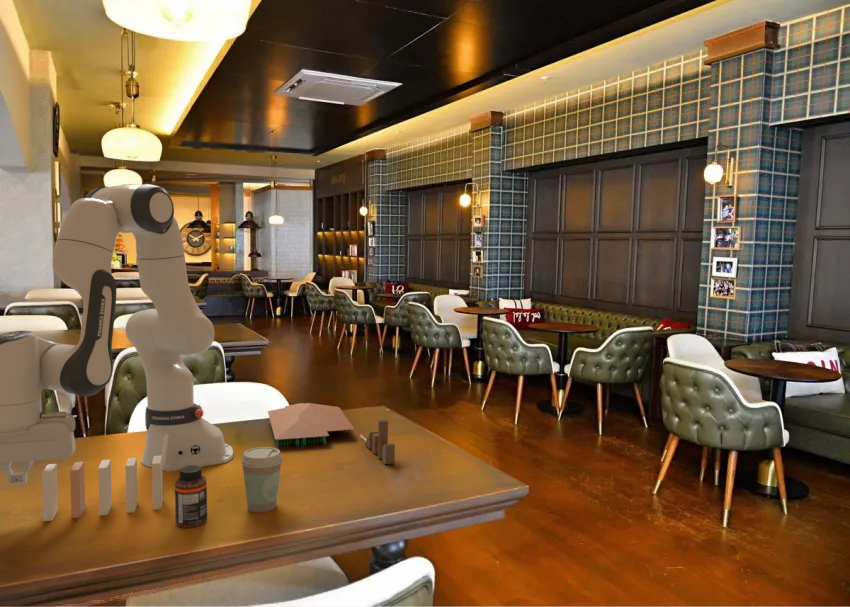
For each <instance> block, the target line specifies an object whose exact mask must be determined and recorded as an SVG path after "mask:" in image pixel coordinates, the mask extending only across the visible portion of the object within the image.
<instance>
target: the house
mask: <svg viewBox="0 0 850 607" xmlns="http://www.w3.org/2000/svg"><path fill="white" fill-rule="evenodd" d="M267 415H268V418H269V421H270V425H271V429H272V433H273V436H274V440H275V444H276V447H277V449H278V450H280V449H282V445H283V444H284V445H283V446H284V449H285V445H287V449H289V448H288V447H289V446H288V444H289V443H290V442H292V440H295V444H296V446H297V448H300V439H302V448H306V447H307V443H310V442H311V446H310V447H312V445H314V447H315V444H316V443H315V442H317V447H318V442H319V440H318V439H319V438H320V439H321V441H322V442H323V445H324V446H327V444H326V443H327V440H326V439H327V438H326V437H329V436H330V433H329V432H331V436H332V432H338V431H339V435H340V434H341V433H340V432H343V431H345V430H346V431H345V433H346V432H347V433H348V432H349V431H354V430H356V429H355V428H354V426H353V425H352V423H351V422H350V419H348V418H347V416H346V415H345V413H344V412H343V410H342V409H341V408H340V407H339V406H334V405H333V406H332V405H326V404H318V403H312V402H306V403H304V402H300V403H295V404H290V405H286V406H284V407H282V408H277V409H272V410H268V411H267ZM347 433H346V434H347ZM310 438H314V439H313V440H311V441H310V440H307V439H310ZM316 438H317V440H315V439H316ZM283 441H284V442H283ZM286 441H287V442H286ZM289 441H290V442H289ZM312 443H313V444H312ZM279 445H281V447H280V446H279ZM279 447H280V449H279Z"/></svg>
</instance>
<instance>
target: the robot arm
mask: <svg viewBox="0 0 850 607" xmlns="http://www.w3.org/2000/svg"><path fill="white" fill-rule="evenodd" d="M174 206H175V205H174V202H173V200H172V198H171V196H170V194H169V193H168V192H167V190H165V188H163V187H161V186H158V185H155V184H150V183H149V184H148V183H146V184H135V183H123V184H119V185H112V186H100V187H96V188H94V189H92V190H90V191H89V192H88V193H86V195H85V197H83V198H78V199H77V200H75V201H73V203H72V204H71V205H70V207H69V209H68V211H67V213H66V215H65V217H64V219H63V222H62V224H61V227H60V230H59V232H58V235H57V239H56V243H55V246H54V249H53V253H52V269H53V271H54V273H55V274H56V276H57V278H58V279H59V280H60V281H62V283H64V285H66V286H67V287H70V288H71V289H73V290H74V291H75V292H77V293H78V295H79V296H80V297H81V300H82V305H83V310H82V320H81V328H80V335H79V340H78V343H77V344H76V345H75V344H74V345H73V344H66V343H58V342H56V341H51V340H48V339H45V338H42V337H41V336H38V335H36V334H35V333H34V332H33V331H31V330H16V331H8V332H4V333H1V334H0V470H1V471H2V472H3V473H4V474H5V476H6V477H7V484H8V485H15V484H25V483H27V482H28V472H29V470H30V469H31V467H32V465H33V464H34V462H36V461H47V460H48V461H49V460H59V459H60V460H61V459H68V458H70V457H71V456H72V455H73V454H74V453H75V451H76V439H75V434H74V433H75V430H76V419H75V418H76V417H74V416H73V414H71V413H67V411H58V412H52V411H51V412H42V410H43V409H42V394H41V393H42V391H44V390H46V389H47V390H52V391H55V392H56V391H57V392H64V393H65V392H66V393H67V394H71V395H76V396H80V397H87V398H88V397H92V396H95V395H96V394H98V393H99V392H101V391H102V390H103V389H104V388H105V387H106V386H107V384H109V382H110V381H111V379H112V375H113V372H114V371H113V370H114V365H113V364H114V363H113V362H114V361H113V352H112V349H113V347H112V346H113V338H114V336H113V334H114V326H115V324H114V323H115V317H116V316H115V314H116V304H117V282H116V280H115V277H114V276H113V274H112V262H113V261H112V260H113V256H114V251H115V246H116V239H117V236H118V235H119V234H120V233H125V234H126V233H131V234H132V235H133V237H134V239H135V251H136V260H137V262H136V263H137V268H138V269H137V270H138V276H139V277H138V278H139V284H140V285H139V286H140V288H141V291H142V292H143V294H145V295H146V296H147V297H148V299H149V300H150V301H151V303H152V304H153V306H154V308H149V309H148V308H147V309H143V310H138V311H136V312H134V313H133V314H131V316H130V317H129V318H128V319H127V322H126V323H125V336H126V338H127V340H128V341H129V342H130V344H131V345H132V346H133V347H134V348H135V350H136V351H137V354H138V356H139V358H140V362H141V363H142V368H143V370H144V371H143V372H144V375H145V379H146V400H147V404H146V405H147V406H146V408H145V411H144V412H145V414H144V415H145V416H144V420H145V422H144V423H145V430H146V438H145V446H144V450H143V454H142V457H141V461H140V462H141V464H142V465H143V466H146V467H148V468H152V462H153V458H154V456H161V455H162V471H165V472H173V471H180V469H181V468H182V467H185V466H190V465H197V466H200V467H201V468H202V467H206V466H214V465H220V464H226V463H228V462H230V461H231V460H232V459H233V458H234V449H233V447H232V446H231V445H229V444H227V443H225V438H224V434H223V432H222V431H221V429H220V428H219V427H217V426H216V425H214V424H213V423H211V422H209V421H208V420H206V419H205V418H203V416H204V410H203V408H202V406H201V404H196V403H194V376H193V373H192V371H190V369H189V368H188V367H187V366H186V365H185V363H184V361H183V359H182V356H191V355H193V356H194V355H200V354H204V353H205V352H206V351H208V350H209V349H210V348H211V346H212V345H213V343H214V339H215V327H214V324H213V322H212V321H211V320H210V319H209V318H208V317H207V316H206V315H205V314H204V313H203V311H202V310H201V309H200V307H199V306H198V304H197V302H196V300H195V298H194V296H193V293H192V291H191V287H190V285H189V284H190V282H189V279H188V277H189V276H188V272H187V264H186V263H187V262H186V255H185V248H184V242H183V237H182V235H181V234H182V233H181V230H180V227H179V224H178V221H177V219H176V218H175V216H174V215H175V209H174V208H175V207H174ZM19 462H22V463H21V464H22V465H21V466H22V467H25V468H24V469H23V471H21V472H20V471H18V472H15V471H14V470H13V469H12V467H11V466H12V465H13V463H19Z"/></svg>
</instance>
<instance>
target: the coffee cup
mask: <svg viewBox="0 0 850 607" xmlns="http://www.w3.org/2000/svg"><path fill="white" fill-rule="evenodd" d="M283 461H284V460H283V455H282V454H281V451H280V449H278V448H276V447H272V446H271V447H270V446H262V447H261V446H259V447H253V448H249V449H246V450H245V451H244V452H243V455H242V458H241V461H240V464H241V465H242V471H243V480H244V487H245V488H244V489H245V496H246V503H247V509H248V511H250V512H251V513H252V512H253V513H266V512H270V511H273V510H274V509H276V506H277V501H278V499H277V498H278V494H279V493H278V491H279V482H280V475H281V467H282V463H283Z"/></svg>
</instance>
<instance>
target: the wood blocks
mask: <svg viewBox="0 0 850 607" xmlns="http://www.w3.org/2000/svg"><path fill="white" fill-rule="evenodd" d="M377 427H378V431H373V432H372V431H370V432H369V434H368V436H367V438H365V437H364V436H363V434H361V433H360V435H359V436H360V438H361V439H363V440H364V445H365V447H367V448H368V449H369V450H371V452H372V454H374V455H377V458H378V459H380V460H382V463H383V464H384V465H385V464H387V465H393V463H394V464H395V453H396V452H395V451H396V450H395V448H396V444H394V443H388V440H389V436H388V435H389V420H388V419H386V418H381V419H378V426H377Z"/></svg>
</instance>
